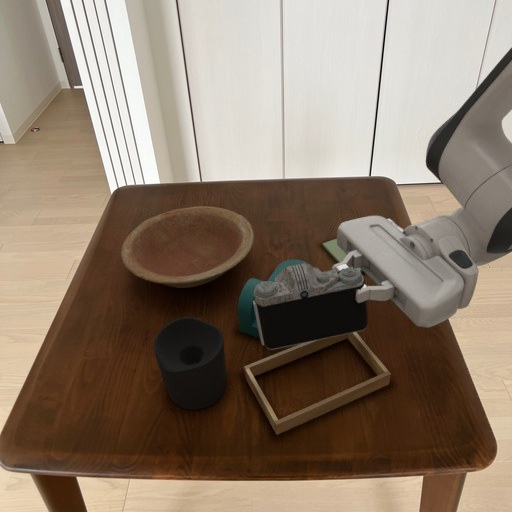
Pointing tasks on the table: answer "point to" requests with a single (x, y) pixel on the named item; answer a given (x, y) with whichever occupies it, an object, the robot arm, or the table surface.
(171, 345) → the pen holder
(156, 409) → the table surface
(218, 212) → the bowl
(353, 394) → the rectangular wooden frame
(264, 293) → the camera
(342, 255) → the mat
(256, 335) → the bracket
